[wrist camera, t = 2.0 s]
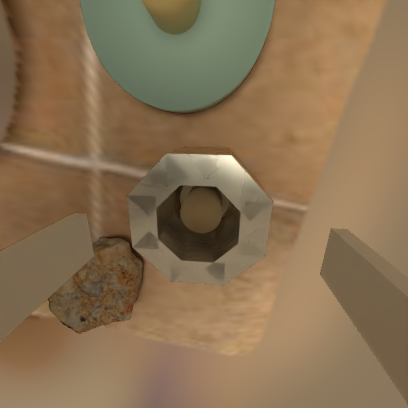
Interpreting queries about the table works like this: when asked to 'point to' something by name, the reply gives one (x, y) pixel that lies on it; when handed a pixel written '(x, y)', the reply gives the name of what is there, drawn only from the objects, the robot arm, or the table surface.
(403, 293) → the robot arm
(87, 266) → the rock
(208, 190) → the stand
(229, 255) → the collar ring
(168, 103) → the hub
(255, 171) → the table surface
